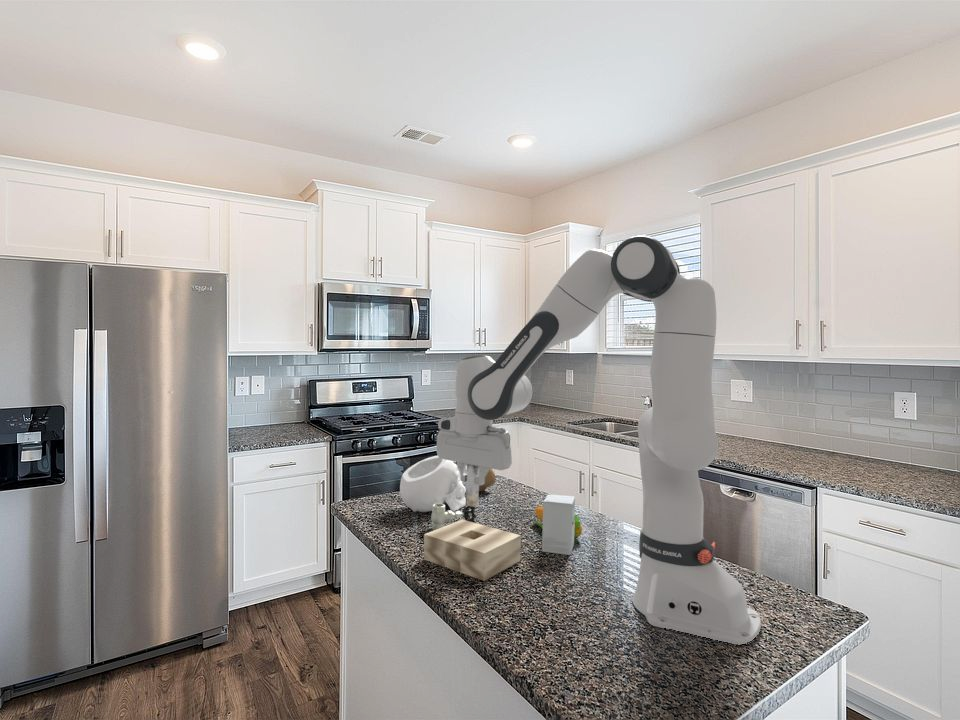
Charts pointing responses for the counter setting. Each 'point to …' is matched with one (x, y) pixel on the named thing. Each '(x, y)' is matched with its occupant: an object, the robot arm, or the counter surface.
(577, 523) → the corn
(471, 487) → the steel peg
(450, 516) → the valve
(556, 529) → the supplement box
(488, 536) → the hole block
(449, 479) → the skull planter
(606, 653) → the counter surface
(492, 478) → the potato
